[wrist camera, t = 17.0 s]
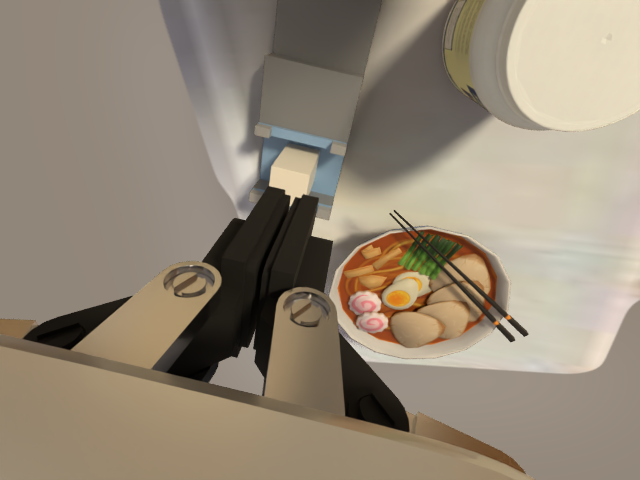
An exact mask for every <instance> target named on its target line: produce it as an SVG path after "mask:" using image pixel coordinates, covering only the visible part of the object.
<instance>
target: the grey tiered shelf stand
mask: <svg viewBox="0 0 640 480" xmlns="http://www.w3.org/2000/svg"><path fill="white" fill-rule="evenodd" d="M381 2H382V0H278V3H277V13H276V23H275V34H274V44H273V53H271V54H267V55H265V61H264V72H263V83H262V95H261V106H260V118H259V123H258V124H256V125H255V133H254V135H257V136H261V137H264V141H263V152H262V162H261V172H260V179H259V181H258V182H257V183H256V185H255V186H254V188H253V189H252V190H251V192H250V195H249V202H253V203H257V202H258V201H259V199H260V198H261V196H262V195H263V193H264V192H265V190H266V188H267V187H268V186H269V183H270V174H271V166H272V165H273V163H274V162H275V160H276V159H277V158H278V156H279V155H280V153H281V152H282V151H283V149H284V148H285V147H286V145H287V144H288V143H291V144H296V145H300V146H304V147H308V148H312V149H317V150H320V154H319V159H318V164H317V169H316V174H315V179H314V183H313V185H312V188H311V191H310V193H309V196H313V197H318V198H319V202H318V207H317V211H316V213H317V216H316V217H317V218H321V219H325V220H329V218H330V214H331V210H332V205H333V201H334V196H335V192H336V188H337V184H338V180H339V175H340V171H341V167H342V163H343V159H344V156H345V152H346V148H347V144H348V139H349V135H350V131H351V127H352V123H353V119H354V115H355V111H356V107H357V102H358V98H359V94H360V90H361V86H362V82H363V78H364V72H365V68H366V64H367V60H368V56H369V52H370V48H371V44H372V39H373V35H374V31H375V27H376V23H377V19H378V15H379V11H380V6H381ZM289 207H291V206H289Z"/></svg>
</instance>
